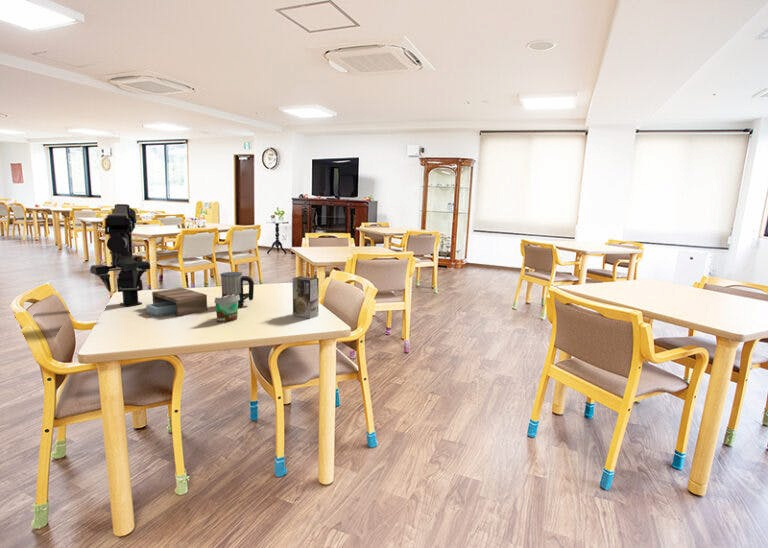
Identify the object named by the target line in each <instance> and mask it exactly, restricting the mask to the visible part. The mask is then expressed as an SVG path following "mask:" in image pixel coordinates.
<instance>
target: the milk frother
mask: <svg viewBox="0 0 768 548" xmlns="http://www.w3.org/2000/svg"><path fill="white" fill-rule="evenodd" d="M219 275H220V278H221V279H220V280H221V281H220V282H221V297H223V296H225V295H230V294H231V292H237V293H238V295H239V297H240V300H239V301H238V309H239V308H242V307H243V306H244V305H245V304H244V301H245V300H247V299H248V300H249V301H253V300H254V287H255V283H254V282H255V281H254V279H253V278H252V277H250V276H249V275H248V276H247V275H243V272H240V271H226V272H225V271H224V272H222V273H220V274H219ZM244 282H247V283H248V292H247V293H246V292H245V293H244Z"/></svg>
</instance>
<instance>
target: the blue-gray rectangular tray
mask: <svg viewBox="0 0 768 548" xmlns="http://www.w3.org/2000/svg"><path fill="white" fill-rule="evenodd" d="M145 307H146V314H148V315H151V316H153V317H156V318H158V317H159V318H160V317H164V316H168V315H173V314H176V303H175V302H172V301H165V302H160V303H154V304H153V303H150V304H145Z"/></svg>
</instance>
